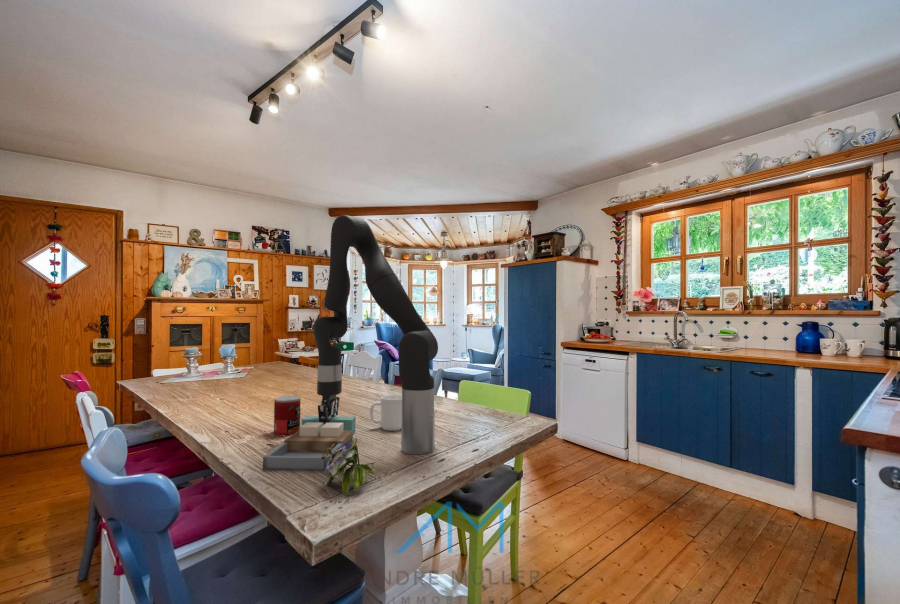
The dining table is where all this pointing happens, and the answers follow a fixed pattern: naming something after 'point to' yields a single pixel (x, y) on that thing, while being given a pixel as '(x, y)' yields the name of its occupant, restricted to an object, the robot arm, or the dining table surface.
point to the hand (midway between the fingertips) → (328, 432)
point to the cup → (389, 412)
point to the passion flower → (339, 463)
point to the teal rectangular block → (334, 421)
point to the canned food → (286, 415)
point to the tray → (296, 459)
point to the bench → (316, 442)
